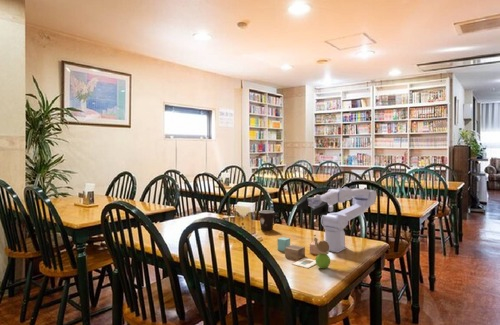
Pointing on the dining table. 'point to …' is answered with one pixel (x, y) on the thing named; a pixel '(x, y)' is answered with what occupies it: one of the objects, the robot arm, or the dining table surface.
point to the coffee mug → (267, 220)
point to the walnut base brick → (295, 252)
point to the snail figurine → (322, 253)
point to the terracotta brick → (313, 248)
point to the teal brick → (283, 243)
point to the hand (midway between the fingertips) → (304, 210)
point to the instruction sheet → (305, 263)
